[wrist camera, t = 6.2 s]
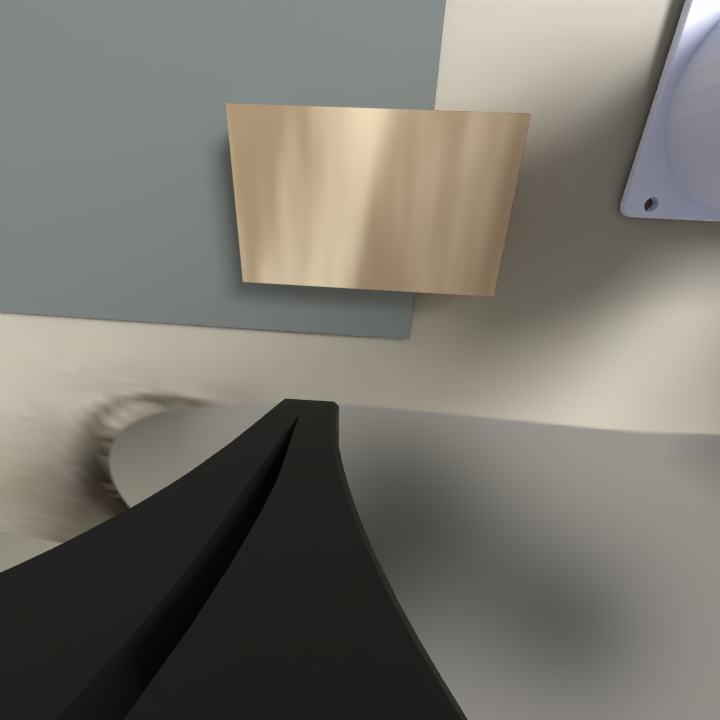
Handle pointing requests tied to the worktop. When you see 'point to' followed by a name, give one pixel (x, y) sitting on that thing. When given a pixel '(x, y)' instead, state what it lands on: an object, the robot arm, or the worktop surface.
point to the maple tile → (374, 196)
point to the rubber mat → (180, 149)
